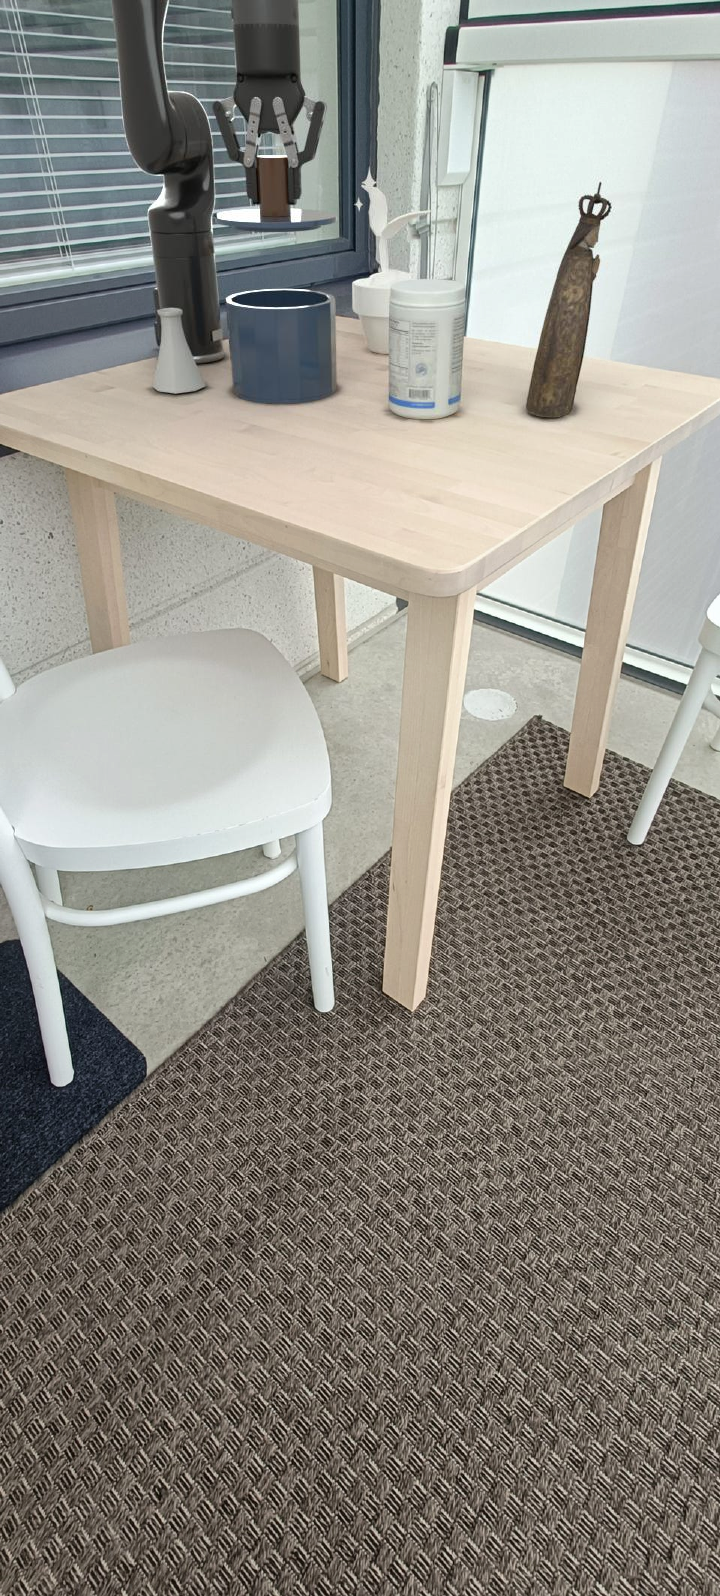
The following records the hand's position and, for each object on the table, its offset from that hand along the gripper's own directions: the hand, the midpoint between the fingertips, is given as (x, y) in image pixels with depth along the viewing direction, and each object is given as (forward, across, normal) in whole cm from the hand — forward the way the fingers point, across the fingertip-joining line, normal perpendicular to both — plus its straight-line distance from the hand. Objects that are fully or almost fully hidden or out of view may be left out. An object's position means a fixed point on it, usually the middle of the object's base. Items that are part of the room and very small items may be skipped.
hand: (274, 203), depth 110 cm
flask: (+23, +15, -1) cm, 27 cm away
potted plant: (+22, -14, -27) cm, 38 cm away
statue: (+22, -37, +6) cm, 44 cm away
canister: (+22, 0, -1) cm, 22 cm away
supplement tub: (+22, -20, +8) cm, 31 cm away
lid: (+2, 0, 0) cm, 2 cm away
